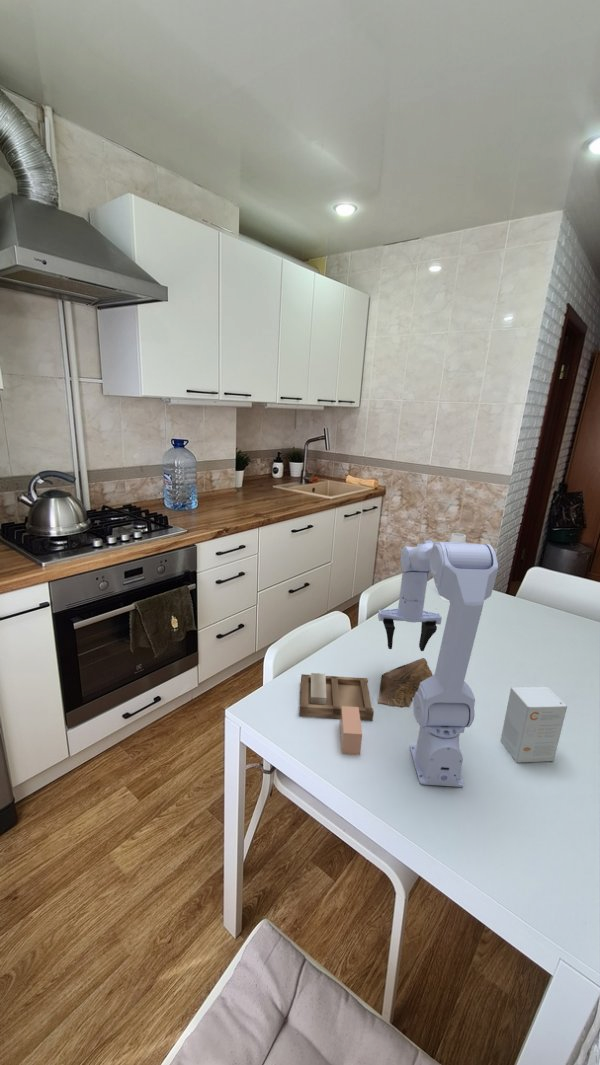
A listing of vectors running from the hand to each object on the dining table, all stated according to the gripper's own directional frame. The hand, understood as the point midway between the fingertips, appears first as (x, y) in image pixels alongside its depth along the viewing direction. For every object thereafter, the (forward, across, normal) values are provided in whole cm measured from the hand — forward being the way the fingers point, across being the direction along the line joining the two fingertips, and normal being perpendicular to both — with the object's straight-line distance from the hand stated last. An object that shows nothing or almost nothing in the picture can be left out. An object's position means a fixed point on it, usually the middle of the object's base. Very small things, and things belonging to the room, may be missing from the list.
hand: (405, 648), depth 108 cm
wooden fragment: (+10, -2, -2) cm, 11 cm away
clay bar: (+10, +14, +20) cm, 27 cm away
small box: (+10, -22, +20) cm, 32 cm away
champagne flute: (+10, -27, -55) cm, 62 cm away
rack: (+10, +17, +8) cm, 21 cm away
